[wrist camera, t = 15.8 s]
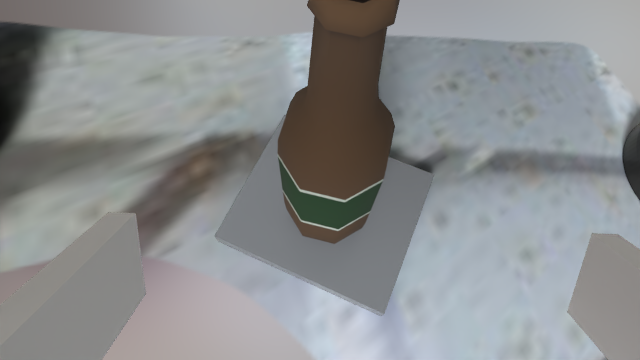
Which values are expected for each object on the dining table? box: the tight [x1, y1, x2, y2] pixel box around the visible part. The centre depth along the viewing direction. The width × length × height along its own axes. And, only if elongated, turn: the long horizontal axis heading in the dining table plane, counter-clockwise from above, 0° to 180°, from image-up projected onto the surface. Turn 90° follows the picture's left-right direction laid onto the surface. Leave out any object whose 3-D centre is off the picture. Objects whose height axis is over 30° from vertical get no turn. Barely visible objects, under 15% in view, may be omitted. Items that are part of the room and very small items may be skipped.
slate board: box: [215, 115, 434, 316], centre depth 38 cm, size 16×14×2 cm
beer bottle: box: [278, 0, 399, 244], centre depth 26 cm, size 8×8×24 cm
